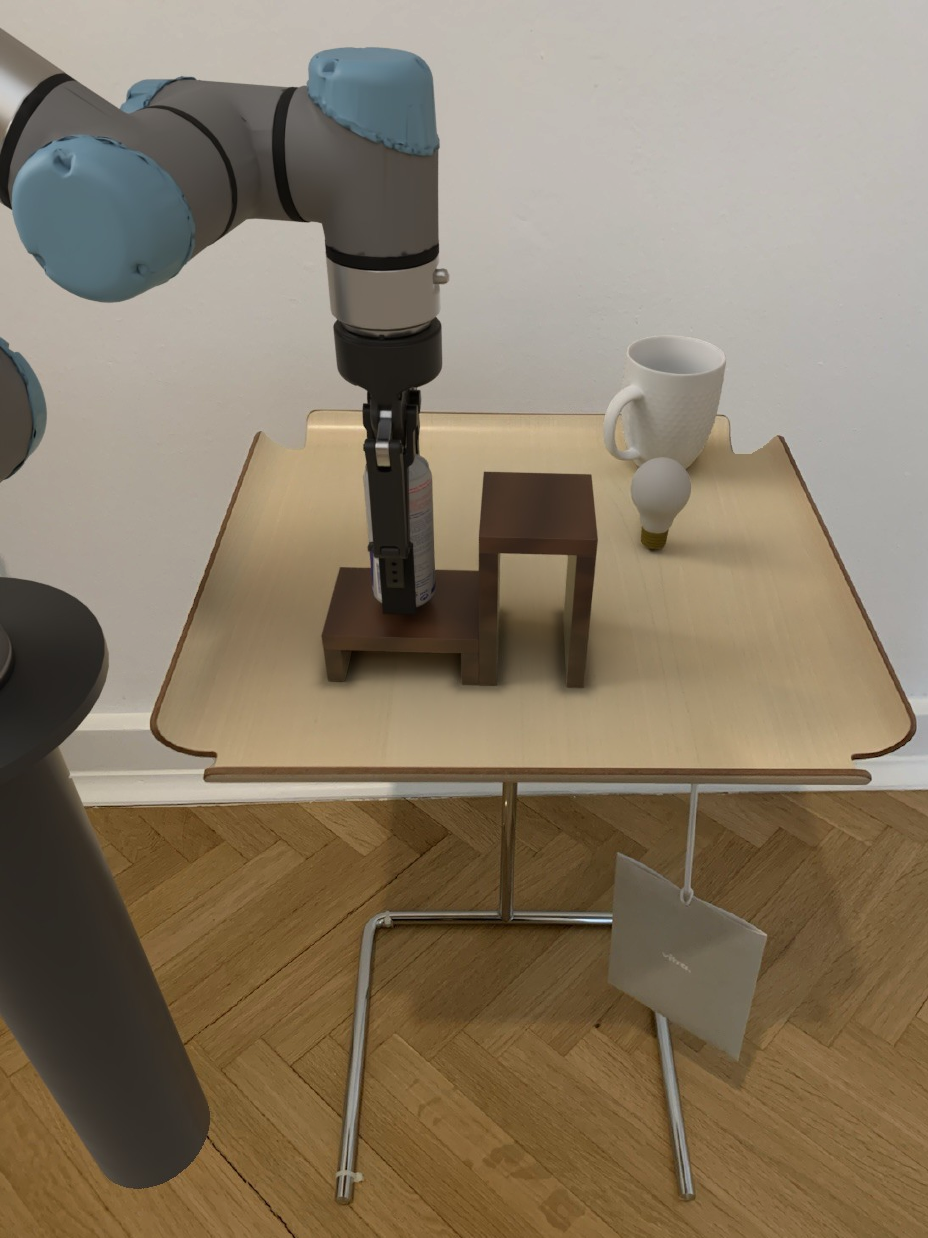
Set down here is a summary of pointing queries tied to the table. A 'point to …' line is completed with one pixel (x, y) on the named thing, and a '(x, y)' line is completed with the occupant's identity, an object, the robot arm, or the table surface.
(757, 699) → the table surface
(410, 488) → the energy drink
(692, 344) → the mug
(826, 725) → the table surface
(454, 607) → the shelf
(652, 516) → the light bulb
